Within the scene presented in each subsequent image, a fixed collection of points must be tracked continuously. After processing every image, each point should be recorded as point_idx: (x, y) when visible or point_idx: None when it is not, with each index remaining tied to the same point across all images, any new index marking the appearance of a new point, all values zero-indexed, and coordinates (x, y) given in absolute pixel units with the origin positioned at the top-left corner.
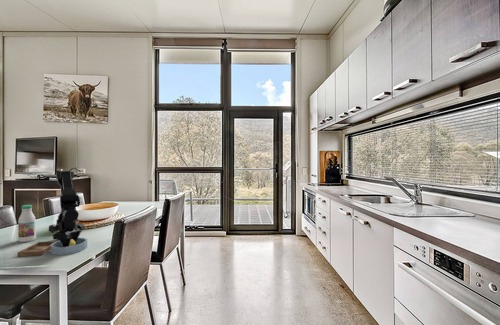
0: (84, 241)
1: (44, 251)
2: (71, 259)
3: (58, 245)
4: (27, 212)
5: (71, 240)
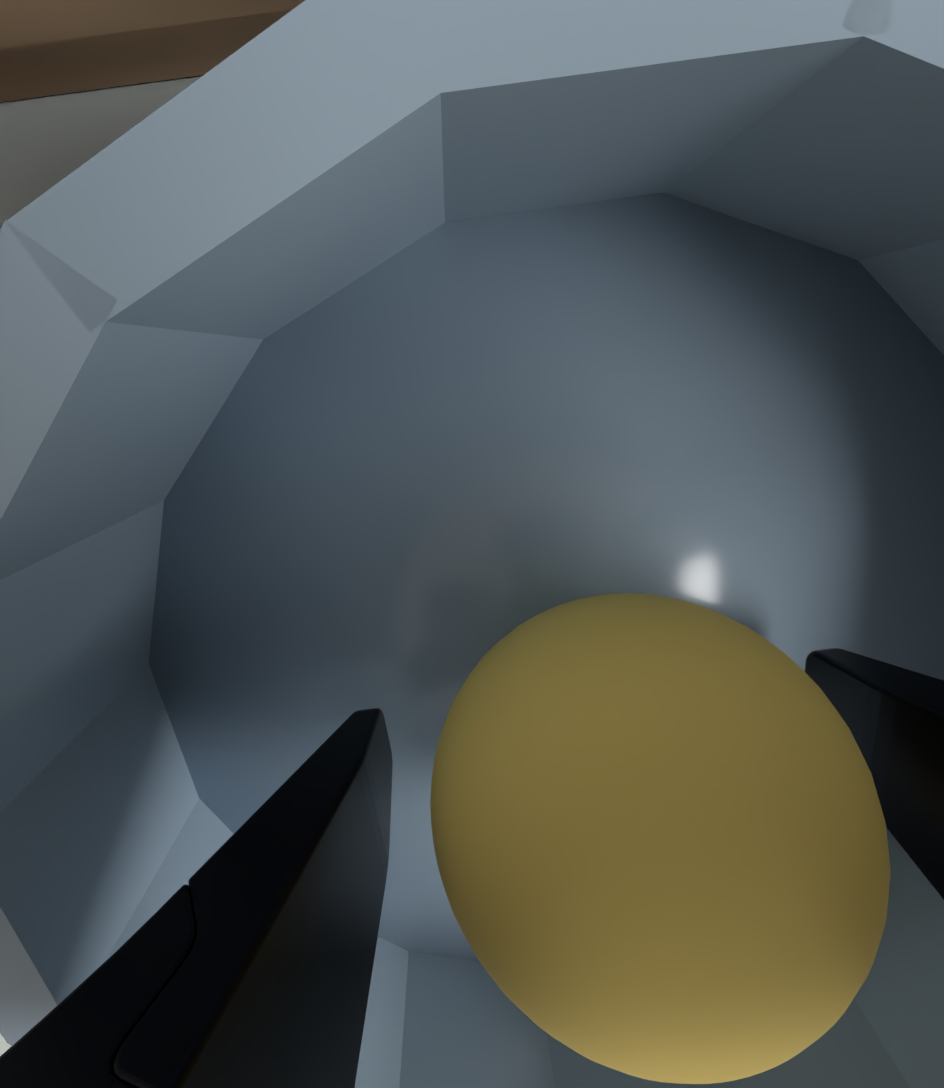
0: (940, 970)
1: (46, 7)
2: None
3: (802, 190)
4: None
5: (635, 1071)
